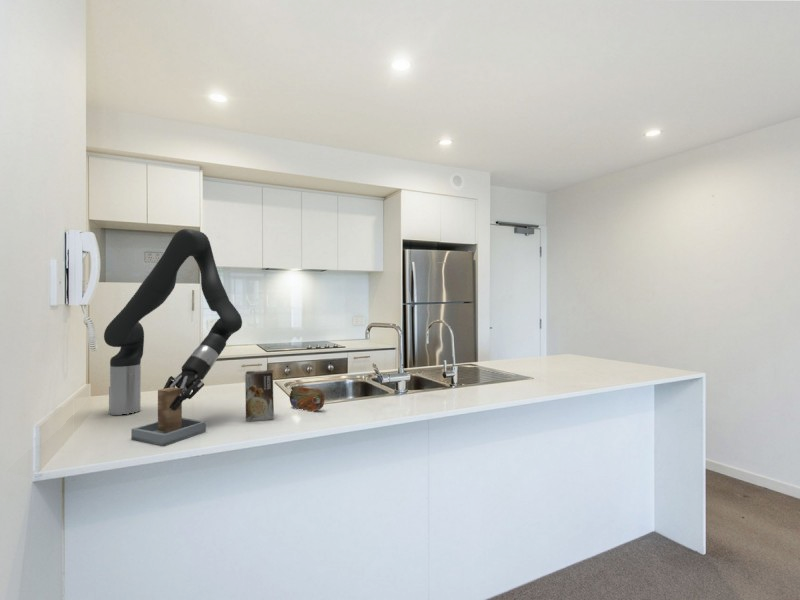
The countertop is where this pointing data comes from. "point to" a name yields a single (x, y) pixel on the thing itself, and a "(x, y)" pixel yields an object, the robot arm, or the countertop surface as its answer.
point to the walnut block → (168, 410)
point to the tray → (163, 438)
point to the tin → (307, 398)
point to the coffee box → (259, 395)
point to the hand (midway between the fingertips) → (166, 407)
